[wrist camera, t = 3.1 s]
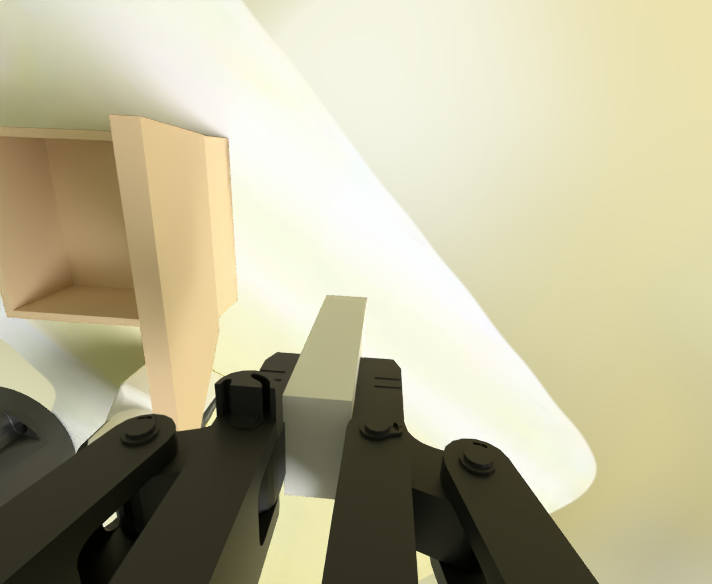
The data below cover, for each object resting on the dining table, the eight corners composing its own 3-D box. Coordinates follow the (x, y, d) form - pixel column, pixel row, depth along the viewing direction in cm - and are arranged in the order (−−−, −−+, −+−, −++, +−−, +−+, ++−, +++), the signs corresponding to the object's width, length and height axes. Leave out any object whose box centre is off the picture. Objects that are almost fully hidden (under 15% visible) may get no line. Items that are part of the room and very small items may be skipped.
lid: (165, 499, 16) (187, 496, 16) (108, 114, 11) (139, 116, 12) (208, 331, 31) (219, 330, 31) (190, 134, 26) (204, 134, 26)
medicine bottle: (204, 428, 42) (137, 528, 31) (142, 397, 42) (50, 488, 30) (230, 378, 40) (168, 466, 29) (165, 344, 39) (74, 421, 28)
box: (73, 289, 38) (7, 317, 32) (41, 130, 34) (-44, 124, 27) (237, 299, 37) (205, 331, 31) (228, 138, 33) (187, 134, 26)
